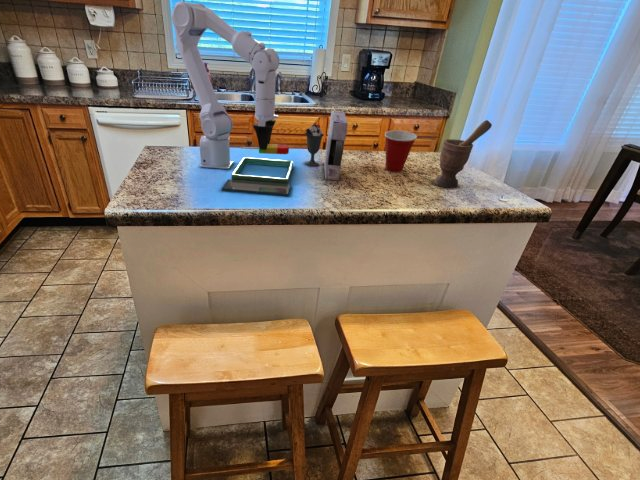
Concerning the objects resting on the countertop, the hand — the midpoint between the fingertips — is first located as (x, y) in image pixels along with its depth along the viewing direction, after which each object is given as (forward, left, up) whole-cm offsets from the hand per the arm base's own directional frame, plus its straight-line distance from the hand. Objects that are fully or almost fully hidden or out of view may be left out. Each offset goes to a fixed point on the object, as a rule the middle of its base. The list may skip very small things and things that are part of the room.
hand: (264, 146), depth 119 cm
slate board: (0, -15, -8) cm, 17 cm away
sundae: (+15, +15, -9) cm, 23 cm away
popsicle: (0, 0, -2) cm, 2 cm away
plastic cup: (+44, +16, -9) cm, 48 cm away
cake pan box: (+22, +7, -9) cm, 25 cm away
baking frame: (0, 0, -8) cm, 8 cm away
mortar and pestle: (+61, +4, -9) cm, 62 cm away
